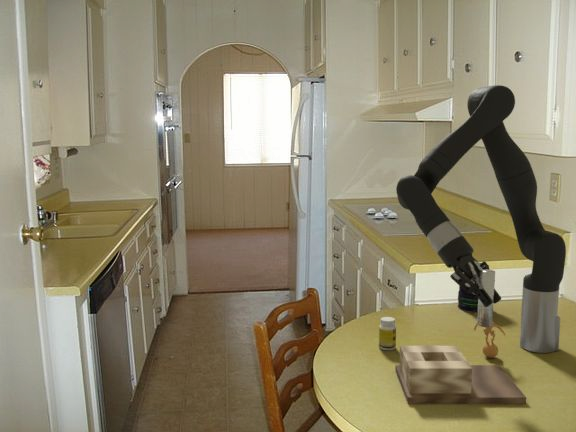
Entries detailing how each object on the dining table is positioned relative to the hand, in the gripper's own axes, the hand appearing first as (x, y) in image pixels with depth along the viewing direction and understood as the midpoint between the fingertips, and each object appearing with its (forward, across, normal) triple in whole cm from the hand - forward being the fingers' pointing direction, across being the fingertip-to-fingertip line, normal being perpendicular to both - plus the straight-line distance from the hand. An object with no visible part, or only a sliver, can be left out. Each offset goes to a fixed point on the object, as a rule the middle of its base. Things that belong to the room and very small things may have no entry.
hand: (493, 302), depth 137 cm
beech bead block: (+7, -8, +21) cm, 24 cm away
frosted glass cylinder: (+3, 0, +6) cm, 6 cm away
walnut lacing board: (+11, -4, +19) cm, 22 cm away
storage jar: (-9, +54, +39) cm, 68 cm away
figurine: (+9, +17, +22) cm, 29 cm away
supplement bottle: (-8, +4, +39) cm, 40 cm away
